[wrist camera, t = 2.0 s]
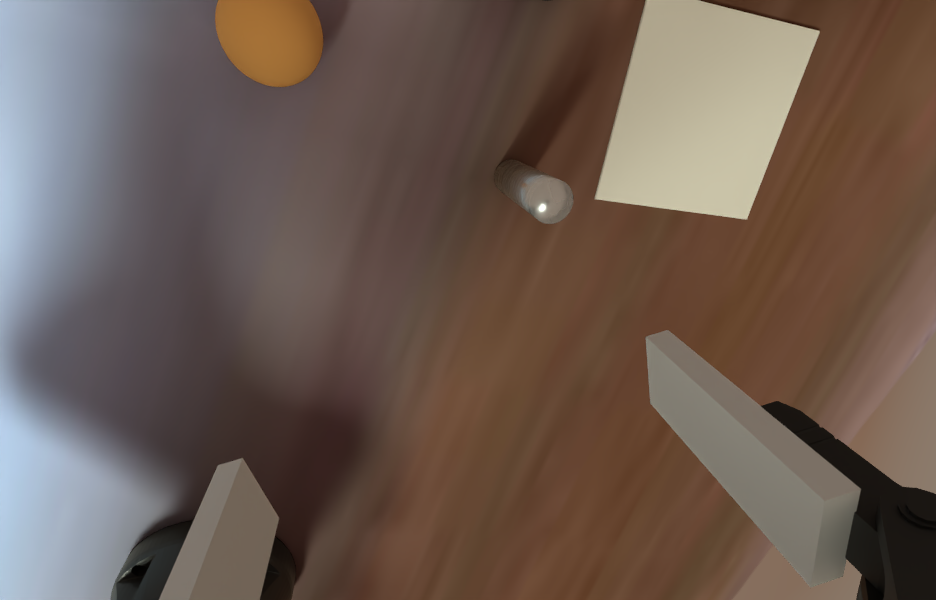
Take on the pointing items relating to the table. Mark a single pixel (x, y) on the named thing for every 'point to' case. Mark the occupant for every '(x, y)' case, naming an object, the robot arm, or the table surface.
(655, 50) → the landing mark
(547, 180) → the post
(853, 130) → the table surface
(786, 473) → the robot arm
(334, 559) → the table surface
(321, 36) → the ball
